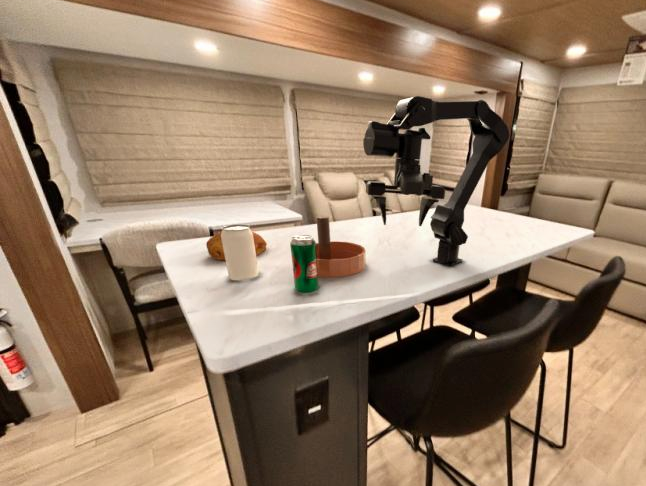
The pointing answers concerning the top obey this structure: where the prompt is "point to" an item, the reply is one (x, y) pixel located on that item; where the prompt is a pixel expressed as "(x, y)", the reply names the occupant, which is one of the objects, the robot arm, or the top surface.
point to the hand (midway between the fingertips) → (402, 225)
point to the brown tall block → (324, 237)
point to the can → (239, 252)
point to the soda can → (304, 263)
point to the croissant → (217, 248)
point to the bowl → (342, 260)
